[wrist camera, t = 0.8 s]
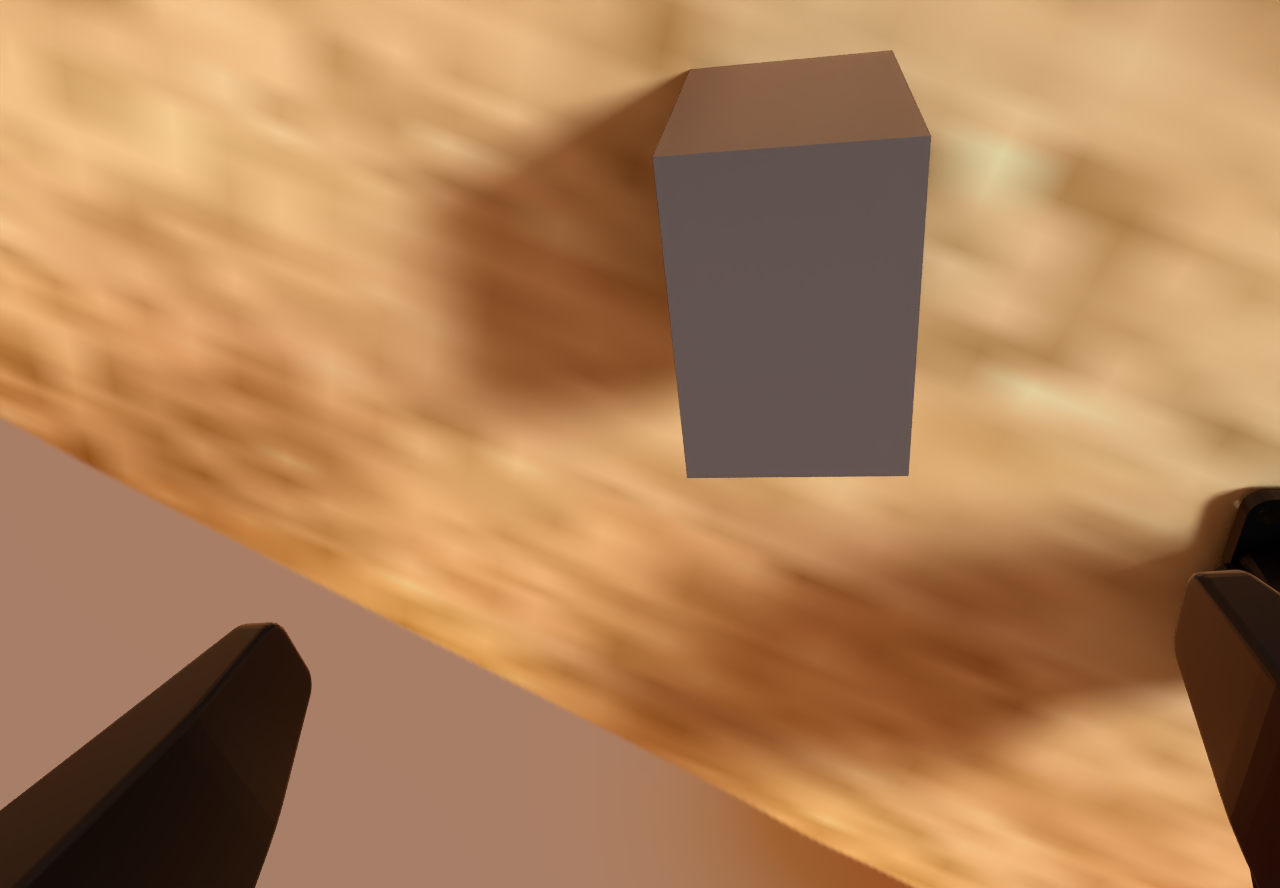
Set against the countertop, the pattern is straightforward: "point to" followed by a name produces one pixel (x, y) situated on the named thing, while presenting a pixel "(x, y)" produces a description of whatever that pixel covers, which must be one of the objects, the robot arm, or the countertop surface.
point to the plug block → (795, 265)
